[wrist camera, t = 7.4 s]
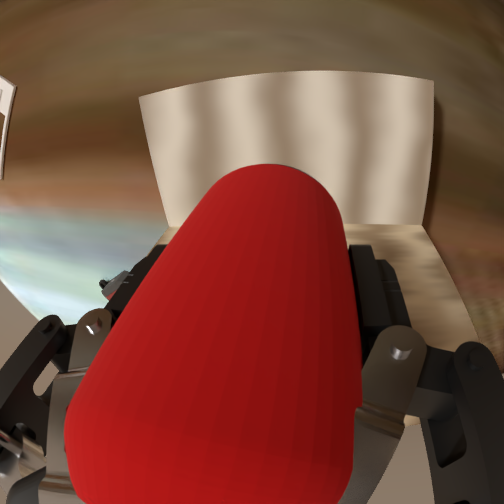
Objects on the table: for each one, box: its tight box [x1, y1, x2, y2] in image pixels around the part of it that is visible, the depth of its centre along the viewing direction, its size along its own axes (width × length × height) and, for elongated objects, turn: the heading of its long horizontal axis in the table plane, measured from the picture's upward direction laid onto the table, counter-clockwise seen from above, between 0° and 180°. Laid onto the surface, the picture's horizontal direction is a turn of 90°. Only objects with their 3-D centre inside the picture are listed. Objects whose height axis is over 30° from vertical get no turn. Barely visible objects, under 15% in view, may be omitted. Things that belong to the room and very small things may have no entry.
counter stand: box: [139, 71, 480, 426], centre depth 21 cm, size 26×26×18 cm
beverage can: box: [64, 163, 363, 504], centre depth 8 cm, size 6×6×12 cm
